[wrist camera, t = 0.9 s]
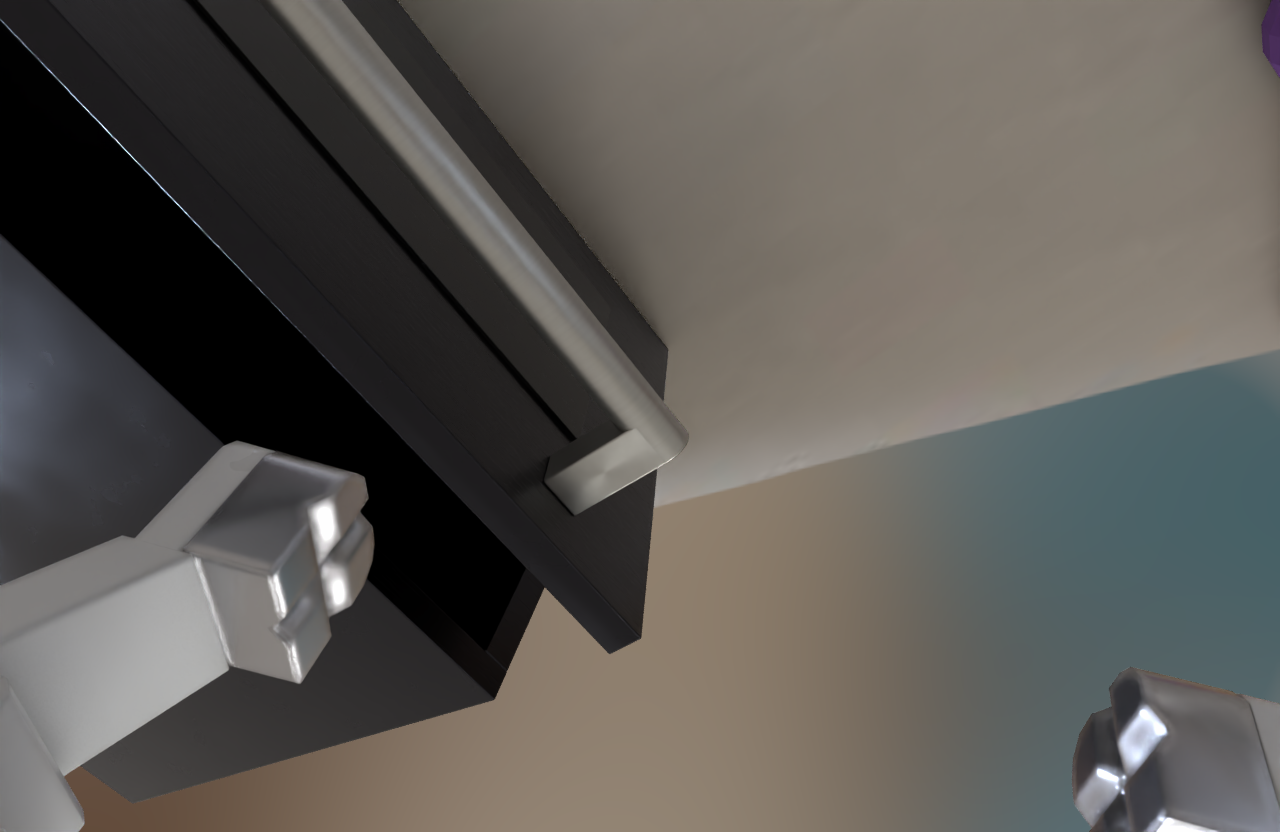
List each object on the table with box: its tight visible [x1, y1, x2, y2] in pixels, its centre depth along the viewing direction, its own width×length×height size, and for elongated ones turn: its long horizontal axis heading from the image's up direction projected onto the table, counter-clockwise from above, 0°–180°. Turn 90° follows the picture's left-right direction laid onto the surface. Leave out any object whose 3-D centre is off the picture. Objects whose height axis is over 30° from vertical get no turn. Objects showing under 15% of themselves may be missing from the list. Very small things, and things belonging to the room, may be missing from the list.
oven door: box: [0, 0, 689, 654], centre depth 40 cm, size 7×40×26 cm, turn 38°
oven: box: [0, 20, 545, 803], centre depth 51 cm, size 32×40×26 cm
